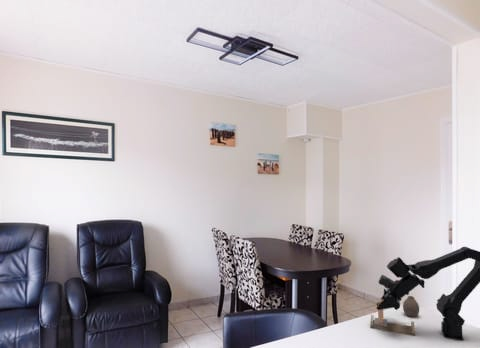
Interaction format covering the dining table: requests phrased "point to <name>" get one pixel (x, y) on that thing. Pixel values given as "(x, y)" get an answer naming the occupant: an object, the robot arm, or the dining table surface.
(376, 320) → the fader
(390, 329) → the fader track
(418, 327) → the dining table surface
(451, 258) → the robot arm
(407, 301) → the vase
